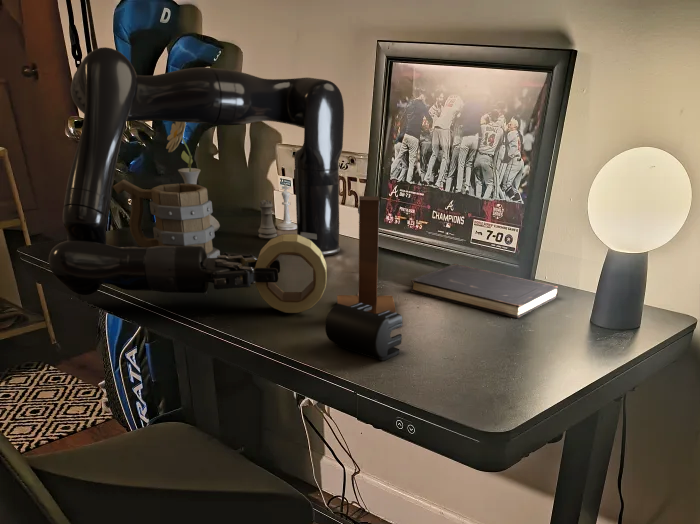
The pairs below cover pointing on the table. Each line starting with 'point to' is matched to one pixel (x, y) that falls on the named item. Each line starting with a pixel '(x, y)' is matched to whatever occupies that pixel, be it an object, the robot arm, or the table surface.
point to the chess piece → (286, 212)
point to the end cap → (364, 330)
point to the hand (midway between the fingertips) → (278, 270)
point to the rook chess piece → (266, 221)
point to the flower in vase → (187, 173)
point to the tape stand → (368, 260)
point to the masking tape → (310, 254)
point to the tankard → (172, 215)
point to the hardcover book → (485, 290)
